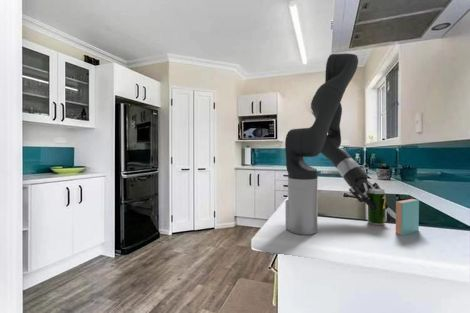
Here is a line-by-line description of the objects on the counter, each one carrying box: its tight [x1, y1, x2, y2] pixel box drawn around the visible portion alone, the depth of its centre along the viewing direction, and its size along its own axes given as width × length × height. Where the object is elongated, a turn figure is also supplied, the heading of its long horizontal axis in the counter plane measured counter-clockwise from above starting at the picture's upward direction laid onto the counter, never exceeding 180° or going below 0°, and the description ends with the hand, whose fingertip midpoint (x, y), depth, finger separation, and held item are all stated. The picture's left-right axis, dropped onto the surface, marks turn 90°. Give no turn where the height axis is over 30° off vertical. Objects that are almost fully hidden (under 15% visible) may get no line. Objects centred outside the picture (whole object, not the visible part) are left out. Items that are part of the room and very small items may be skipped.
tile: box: [395, 198, 420, 236], centre depth 78 cm, size 2×9×10 cm, turn 117°
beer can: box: [367, 188, 386, 226], centre depth 87 cm, size 5×5×12 cm
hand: (381, 209), depth 85 cm, fingers closed on beer can, 5 cm apart
